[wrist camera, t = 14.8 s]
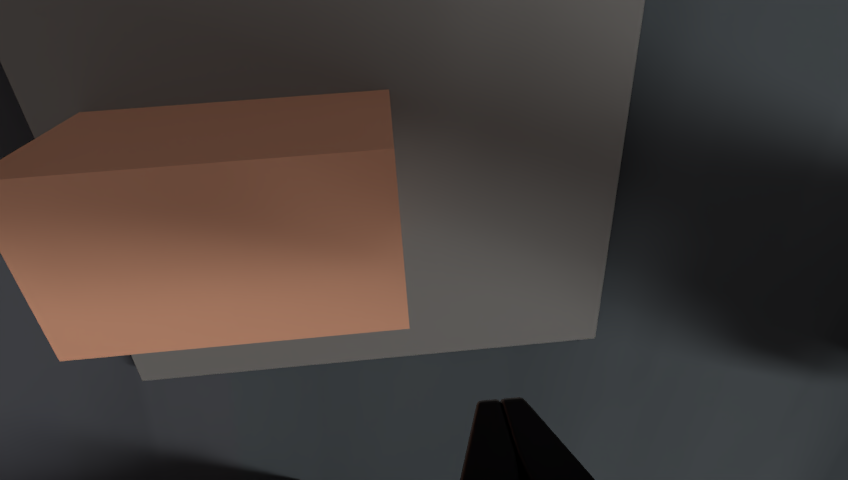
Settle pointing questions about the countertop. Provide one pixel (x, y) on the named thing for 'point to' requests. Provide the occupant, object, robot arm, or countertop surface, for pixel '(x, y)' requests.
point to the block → (208, 224)
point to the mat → (412, 133)
